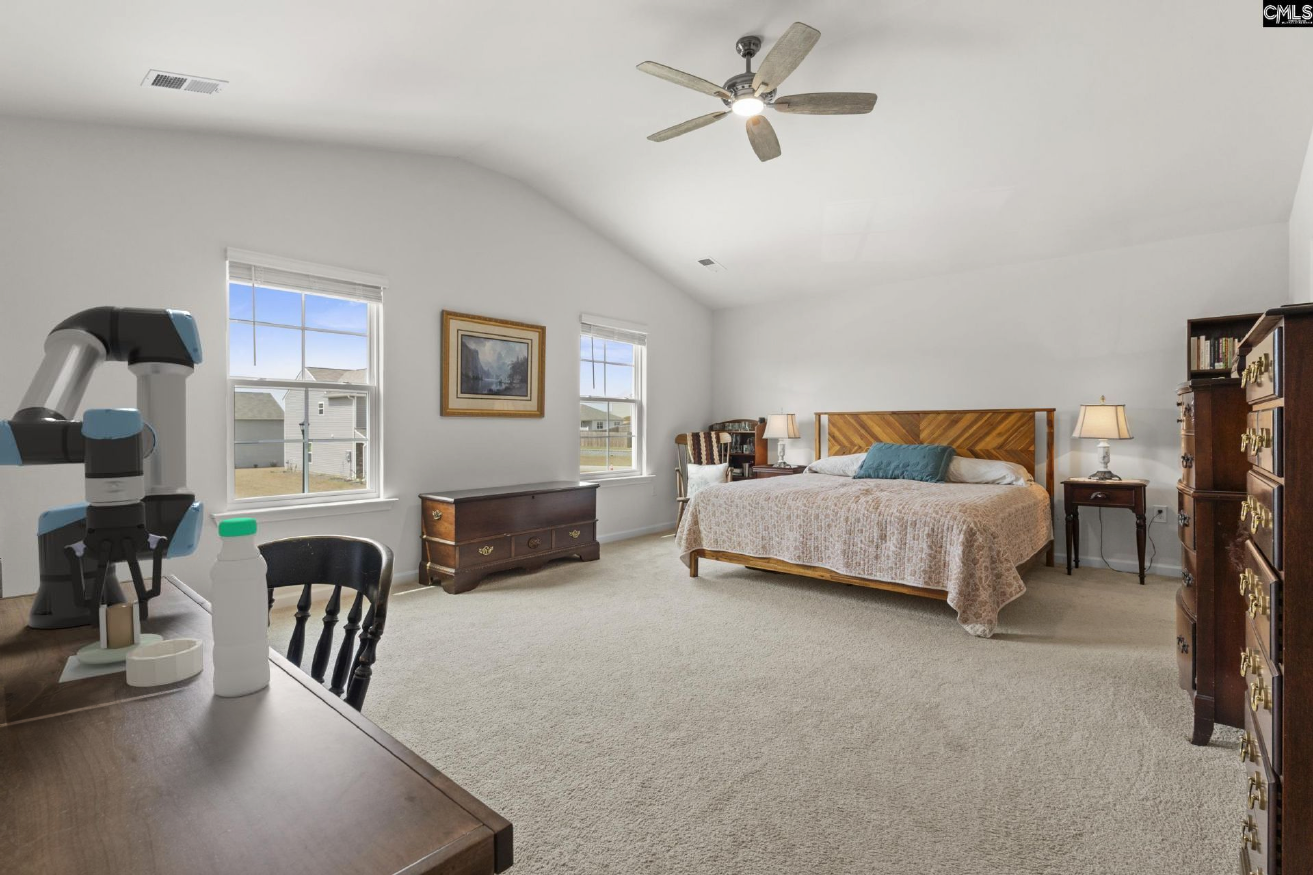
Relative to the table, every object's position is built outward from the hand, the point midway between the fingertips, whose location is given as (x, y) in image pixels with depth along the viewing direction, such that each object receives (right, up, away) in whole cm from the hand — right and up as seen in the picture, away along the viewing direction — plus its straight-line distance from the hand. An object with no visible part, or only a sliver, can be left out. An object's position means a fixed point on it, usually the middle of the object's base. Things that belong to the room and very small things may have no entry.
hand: (121, 643), depth 109 cm
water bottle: (+28, -3, -12) cm, 31 cm away
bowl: (+13, -3, -7) cm, 15 cm away
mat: (0, -3, 0) cm, 3 cm away
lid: (0, -1, 0) cm, 1 cm away
